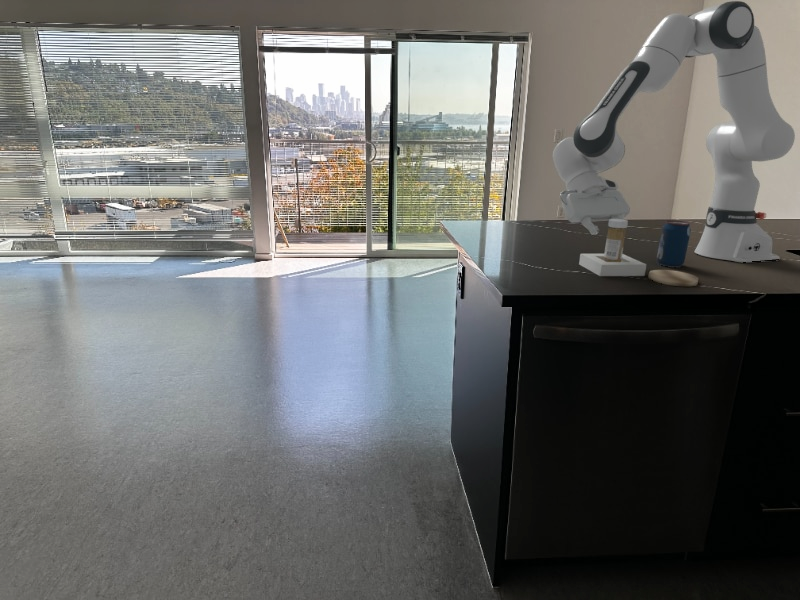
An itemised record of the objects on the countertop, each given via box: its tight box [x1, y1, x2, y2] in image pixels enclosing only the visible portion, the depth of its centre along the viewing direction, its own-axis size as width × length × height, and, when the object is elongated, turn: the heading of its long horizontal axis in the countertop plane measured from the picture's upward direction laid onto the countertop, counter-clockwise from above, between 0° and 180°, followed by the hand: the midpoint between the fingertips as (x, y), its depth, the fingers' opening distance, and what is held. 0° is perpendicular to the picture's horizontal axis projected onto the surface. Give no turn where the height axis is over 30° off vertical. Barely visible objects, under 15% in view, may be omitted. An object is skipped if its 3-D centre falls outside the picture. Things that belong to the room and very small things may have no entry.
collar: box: [578, 253, 647, 277], centre depth 134 cm, size 12×12×3 cm
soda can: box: [656, 220, 692, 268], centre depth 140 cm, size 7×7×12 cm
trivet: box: [647, 269, 699, 287], centre depth 126 cm, size 11×11×1 cm
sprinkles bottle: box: [603, 218, 629, 262], centre depth 132 cm, size 5×5×14 cm
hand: (609, 232), depth 133 cm, fingers open, 8 cm apart
